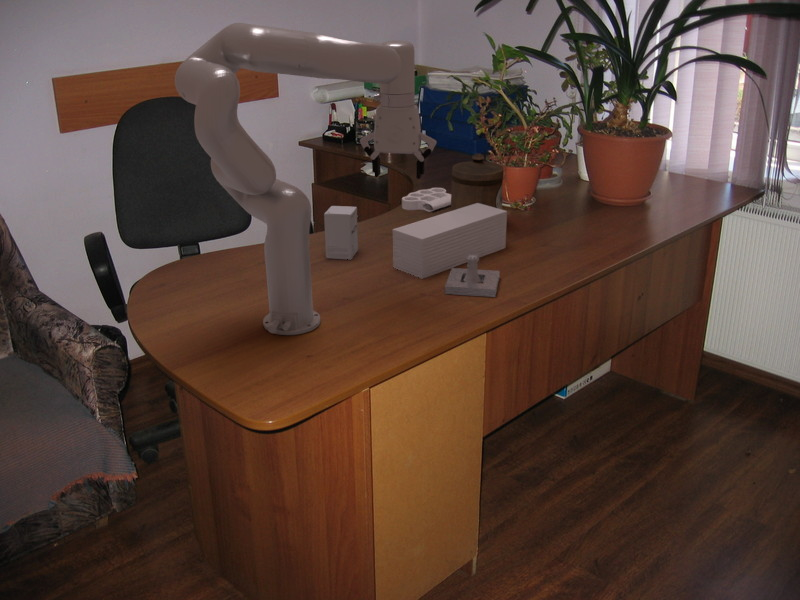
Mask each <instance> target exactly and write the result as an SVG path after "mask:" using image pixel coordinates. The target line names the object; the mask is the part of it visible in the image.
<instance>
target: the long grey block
mask: <svg viewBox="0 0 800 600" xmlns="http://www.w3.org/2000/svg"><path fill="white" fill-rule="evenodd" d="M507 218H508V211H507V210H505V209H502V210H501V209H498V208H494V207H491V206H487V205H483V204H480V203H476V204H472V205H469V206H466V207H463V208H459V209H456V210H453V211H451V210H450V211H447V212H443V213H440V214H437V215H435V216H431V217H429V218H425V219H422V220H417V221H415V222H412V223H408V224H406V225H405V224H404V225H401V226H399V227H396V228H392V254H393V255H392V264H393V265H392V267H394V268H393V269H395V268H396V270H397V269H398V270H397V271H400V270H401V271H400V272H403V271H404V272H403V273H405V272H406V274H408V273H409V274H408V275H410V274H411V275H410V276H413V275H414V276H413V277H415V278H418V277H419V278H418V279H422V280H423V279H427V278H428V277H432V276H434V275H436V274H440V273H442V272H444V271H447V270H451V269H452V268H457V266H461V265H463V264H466V263H468V262H467V260H466V258H467V257H468V254H469V256H470V254H472V255H474V254H476V255H478V258H479V259H480V258H482V257H485V256H488V255H490V254H493V253H496V252H498V251H501V250H504V249H506V243H507V222H508V219H507Z"/></svg>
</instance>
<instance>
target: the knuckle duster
mask: <svg viewBox="0 0 800 600" xmlns="http://www.w3.org/2000/svg"><path fill="white" fill-rule="evenodd" d="M448 206H451V193H447V190H446V189H445V188H444V187H431V188H427V189H418V190H417V191H414V192H409V193H408V194H407V195H406V196H403V197H402V198H401V208H402V209H403V210H405V211H417V210H422V211H426V212H427V213H428V212H430V213H432V212H434V211H436V210H439V209H444V208H446V207H448Z"/></svg>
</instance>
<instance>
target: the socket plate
mask: <svg viewBox="0 0 800 600" xmlns="http://www.w3.org/2000/svg"><path fill="white" fill-rule="evenodd" d="M477 270H478V276H479V278H480V279H481V282H480V283H467V282H463V280H464V278H465V276H466V274H467V268H458V267H453V268H450V271H449V275H448V276H447V280H446V282H445V285H444V294H445V295H456V296H468V297H469V296H471V297H484V298H485V297H486V298H496V295H497V291H498V288H499V287H498V286H499V282H500V275H501V273H500V270H492V269H491V270H490V269H489V270H488V269H477Z"/></svg>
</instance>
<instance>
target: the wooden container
mask: <svg viewBox="0 0 800 600" xmlns="http://www.w3.org/2000/svg"><path fill="white" fill-rule="evenodd" d="M471 160H472V161H463V162H458V163H456V164H454V165H453V166H452V168H451V169H452V170H451V174H452V175H451V191H450V192H451V193H450V194H451V205H450V211H453V210H456V209H459V208H463V207H466V206H469V205H472V204H476V203H480V204H483V205H487V206H491V207H494V208H498V209H501V210H503V185H504V184H503V182H504V181H503V179H504V167H503V165H502V164H499V163H495V162H491V161H484V160H485V156H484V155H483V154H482V153H475V154H473V155H472V156H471Z"/></svg>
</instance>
